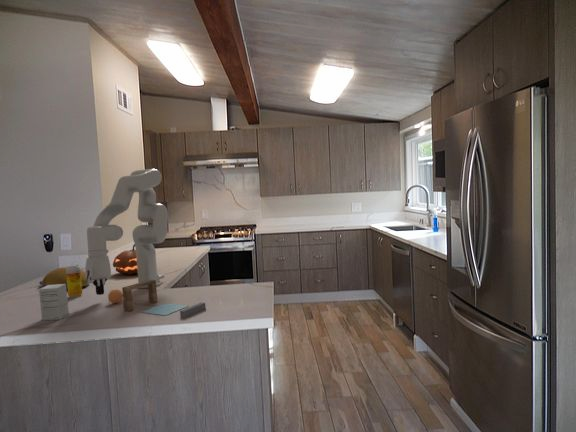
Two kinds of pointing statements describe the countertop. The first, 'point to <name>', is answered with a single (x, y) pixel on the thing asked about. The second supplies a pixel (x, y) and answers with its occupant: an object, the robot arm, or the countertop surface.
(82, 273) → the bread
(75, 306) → the countertop surface
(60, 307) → the supplement box
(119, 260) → the pumpkin
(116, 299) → the ball
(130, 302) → the bridge
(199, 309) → the stopper
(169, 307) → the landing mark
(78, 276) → the beer can
